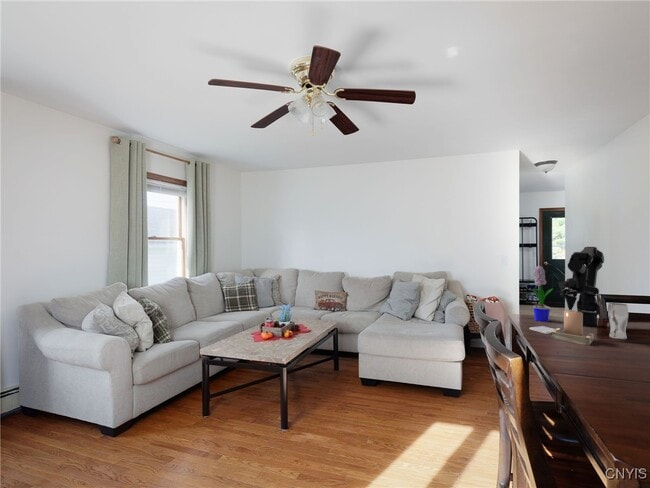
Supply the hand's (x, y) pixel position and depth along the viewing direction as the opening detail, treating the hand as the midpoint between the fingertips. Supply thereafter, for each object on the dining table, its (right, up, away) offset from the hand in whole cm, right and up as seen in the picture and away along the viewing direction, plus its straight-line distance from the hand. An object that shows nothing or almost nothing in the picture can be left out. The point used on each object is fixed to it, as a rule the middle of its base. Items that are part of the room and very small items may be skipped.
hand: (576, 309), depth 161 cm
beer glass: (+14, -12, -7) cm, 19 cm away
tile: (-11, -11, +6) cm, 17 cm away
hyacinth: (+1, -11, +27) cm, 29 cm away
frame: (-9, -11, -9) cm, 17 cm away
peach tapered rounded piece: (-8, -12, -8) cm, 16 cm away
